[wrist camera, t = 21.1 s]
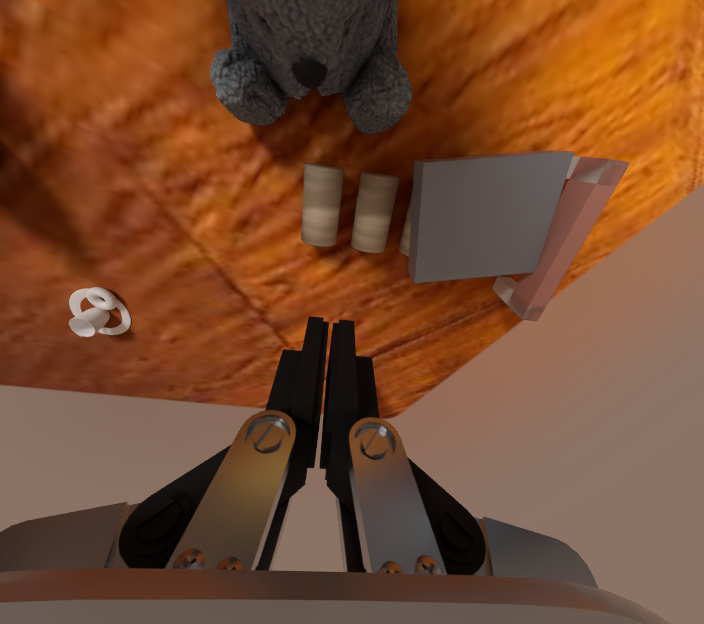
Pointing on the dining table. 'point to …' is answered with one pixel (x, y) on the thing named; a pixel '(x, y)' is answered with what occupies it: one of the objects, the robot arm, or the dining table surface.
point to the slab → (483, 213)
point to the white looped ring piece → (96, 313)
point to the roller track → (369, 216)
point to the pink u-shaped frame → (563, 234)
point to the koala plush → (313, 59)
